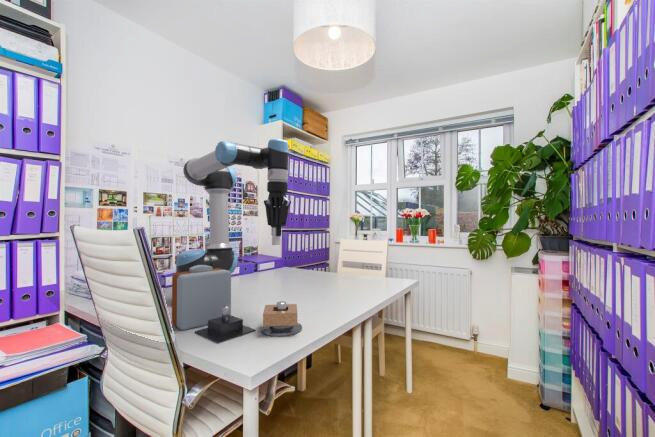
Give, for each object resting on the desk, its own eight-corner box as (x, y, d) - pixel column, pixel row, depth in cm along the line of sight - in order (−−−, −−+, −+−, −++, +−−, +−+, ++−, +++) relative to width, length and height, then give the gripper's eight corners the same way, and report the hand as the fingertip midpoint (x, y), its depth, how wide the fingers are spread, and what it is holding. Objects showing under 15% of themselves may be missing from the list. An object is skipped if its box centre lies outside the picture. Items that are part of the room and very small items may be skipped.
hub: (252, 329, 106) (252, 303, 106) (283, 319, 116) (283, 295, 117) (279, 339, 97) (279, 310, 97) (310, 328, 108) (310, 301, 108)
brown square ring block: (265, 316, 111) (265, 304, 111) (296, 315, 112) (296, 303, 112) (262, 326, 100) (263, 314, 100) (297, 325, 101) (297, 312, 102)
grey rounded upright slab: (221, 314, 123) (221, 262, 123) (231, 319, 117) (232, 264, 117) (171, 325, 110) (171, 267, 110) (180, 331, 104) (180, 269, 104)
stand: (194, 332, 103) (194, 306, 103) (231, 322, 113) (231, 298, 114) (217, 343, 94) (217, 315, 94) (255, 331, 104) (255, 305, 105)
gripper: (258, 181, 118) (257, 244, 118) (281, 179, 109) (280, 247, 110) (273, 183, 124) (272, 242, 124) (297, 181, 115) (295, 245, 116)
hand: (276, 244), depth 117 cm, fingers closed
